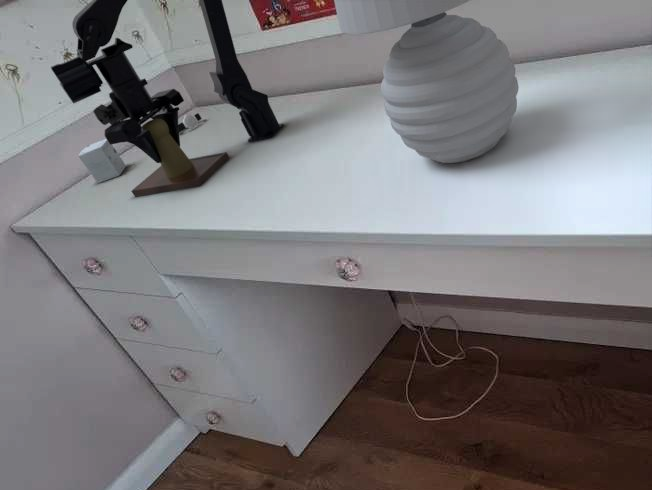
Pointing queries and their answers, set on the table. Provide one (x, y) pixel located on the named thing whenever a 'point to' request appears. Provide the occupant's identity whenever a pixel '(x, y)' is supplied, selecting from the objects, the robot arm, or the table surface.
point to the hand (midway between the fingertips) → (169, 154)
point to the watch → (189, 122)
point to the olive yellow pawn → (168, 149)
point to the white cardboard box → (102, 161)
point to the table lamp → (439, 76)
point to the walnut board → (182, 176)
